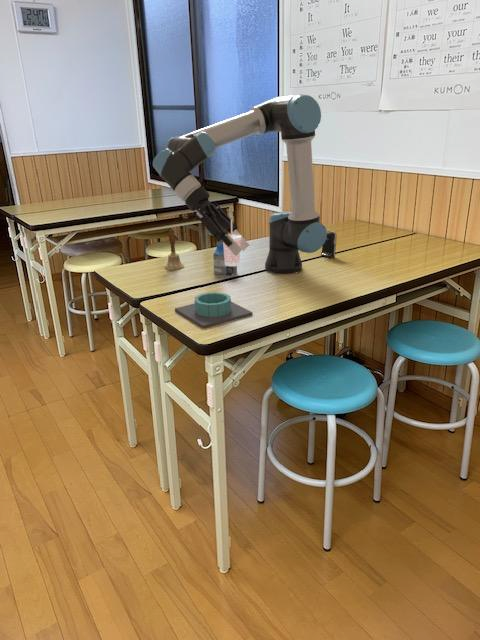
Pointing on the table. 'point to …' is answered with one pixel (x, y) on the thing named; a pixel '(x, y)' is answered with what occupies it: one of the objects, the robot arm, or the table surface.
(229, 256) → the beverage cup
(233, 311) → the cup holder
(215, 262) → the label tape box
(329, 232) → the battery charger
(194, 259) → the table surface
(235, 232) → the robot arm
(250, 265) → the table surface
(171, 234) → the hand bell
